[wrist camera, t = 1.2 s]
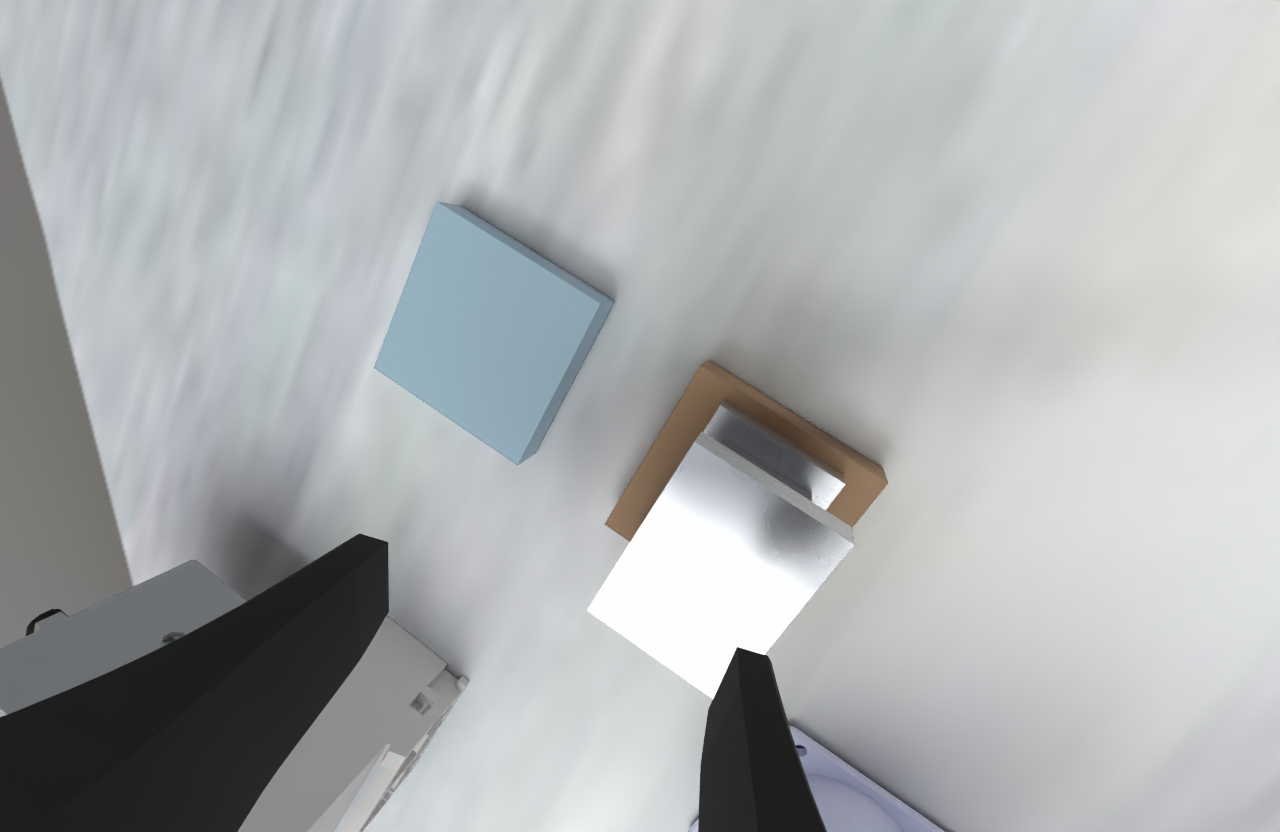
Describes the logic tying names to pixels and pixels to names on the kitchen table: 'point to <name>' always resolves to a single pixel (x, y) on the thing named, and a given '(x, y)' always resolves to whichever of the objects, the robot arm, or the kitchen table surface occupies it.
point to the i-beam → (727, 550)
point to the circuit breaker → (328, 752)
